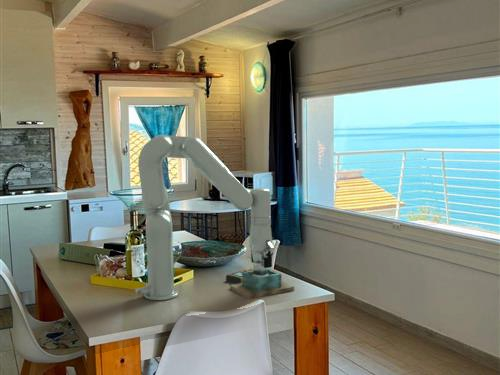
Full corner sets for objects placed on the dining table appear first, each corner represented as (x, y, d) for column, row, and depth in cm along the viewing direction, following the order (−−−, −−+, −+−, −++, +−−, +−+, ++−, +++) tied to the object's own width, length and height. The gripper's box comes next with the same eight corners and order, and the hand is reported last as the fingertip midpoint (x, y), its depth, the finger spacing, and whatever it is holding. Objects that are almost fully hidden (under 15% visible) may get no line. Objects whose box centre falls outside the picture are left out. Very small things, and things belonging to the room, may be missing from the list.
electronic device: (265, 278, 230) (265, 270, 230) (240, 285, 219) (240, 277, 219) (251, 274, 236) (251, 266, 236) (225, 281, 225) (225, 273, 224)
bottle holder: (248, 298, 200) (248, 281, 200) (230, 288, 214) (229, 272, 213) (294, 290, 210) (294, 273, 209) (274, 281, 223) (273, 265, 222)
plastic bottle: (264, 288, 207) (263, 236, 205) (248, 286, 211) (247, 235, 209) (272, 284, 213) (271, 233, 211) (257, 282, 216) (256, 232, 214)
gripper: (241, 218, 215) (242, 261, 216) (263, 225, 200) (264, 271, 201) (258, 216, 218) (258, 259, 220) (281, 223, 203) (281, 268, 205)
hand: (261, 264), depth 211 cm, fingers open, 9 cm apart
